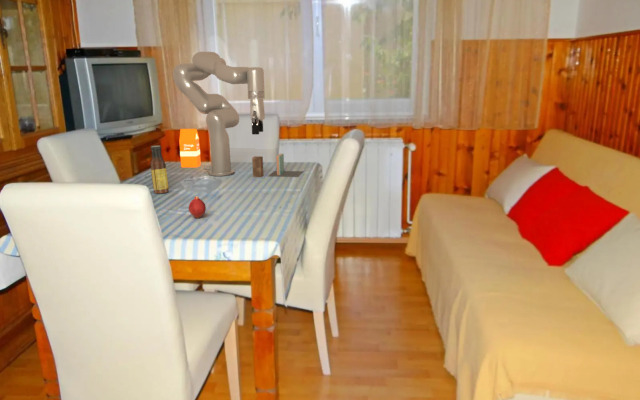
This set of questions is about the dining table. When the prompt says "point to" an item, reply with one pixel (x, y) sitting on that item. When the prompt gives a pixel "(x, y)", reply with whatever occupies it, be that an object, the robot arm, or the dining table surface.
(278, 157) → the tile
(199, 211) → the onion
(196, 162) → the orange juice
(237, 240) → the dining table surface
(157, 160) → the sauce bottle
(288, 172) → the mat
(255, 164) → the block
